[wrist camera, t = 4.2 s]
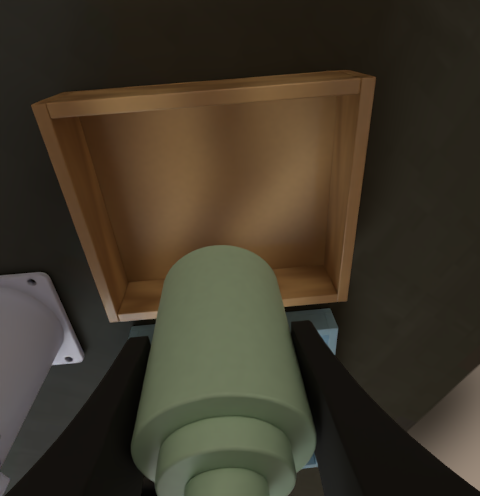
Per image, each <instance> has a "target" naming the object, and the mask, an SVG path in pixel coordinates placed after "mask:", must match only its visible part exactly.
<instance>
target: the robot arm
mask: <svg viewBox="0 0 480 496" xmlns="http://www.w3.org/2000/svg"><path fill="white" fill-rule="evenodd" d="M31 279H33V280H35V282H33V281H31ZM291 336H292V340H293V344H294V348H295V352H296V355H297V359H298V363H299V367H300V371H301V375H302V379H303V382H304V386H305V390H306V394H307V398H308V402H309V406H310V410H311V414H312V417H313V421H314V425H315V429H316V433H317V443H316V448H315V451H314V453H315V457H316V460H317V464H318V468H319V472H320V476H321V481H322V486H323V490H324V495H325V496H480V491H478V490H477V489H476V488H474V487H473V486H471V485H470V484H469V483H468V482H466V481H465V480H464V479H462V478H461V477H460V476H459V475H457V474H456V473H455V472H453V471H452V470H451V469H450V468H448V467H447V466H445V465H444V464H443V463H442V462H441V461H440V460H438V459H437V458H436V457H435V456H434V455H432V454H431V453H430V452H429V451H428V450H427V449H425V448H424V447H423V446H422V445H421V444H419V443H418V442H417V441H416V440H415V439H414V438H412V437H411V436H410V435H409V434H408V433H407V432H406V431H405V430H404V429H403V428H401V427H400V426H399V425H398V424H397V423H396V422H395V421H394V420H393V419H392V418H391V417H390V416H389V415H388V414H387V413H386V412H385V411H384V410H383V409H382V408H381V407H380V406H379V405H378V404H377V403H376V402H375V401H374V400H373V399H372V398H371V397H370V396H369V395H368V394H367V393H366V392H365V390H364V389H363V388H362V387H361V386H360V385H359V384H358V383H357V382H356V380H355V379H354V378H353V377H352V376H351V375H350V373H349V372H348V371H347V370H346V369H345V367H344V366H343V365H342V364H341V362H340V361H339V360H338V359H337V357H336V356H335V355H334V353H333V352H332V351H331V350H330V348H329V347H328V345H327V344H326V343H325V341H324V340H323V338H322V337H321V336H320V334H319V333H318V331H317V330H316V328H315V327H314V325H313V323H312V322H311V321H310V320H304V321H293V322H291ZM150 348H151V344H150V340H149V337H148V336H140V337H130V338H129V339H128V340H127V342H126V344H125V345H124V347H123V348H122V350H121V352H120V353H119V355H118V356H117V358H116V359H115V361H114V363H113V364H112V366H111V367H110V369H109V370H108V372H107V373H106V375H105V376H104V378H103V379H102V380H101V382H100V383H99V385H98V386H97V388H96V389H95V391H94V392H93V393H92V395H91V396H90V398H89V399H88V400H87V402H86V403H85V404H84V406H83V407H82V408H81V410H80V411H79V412H78V414H77V415H76V416H75V418H74V419H73V420H72V421H71V423H70V424H69V425H68V426H67V428H66V429H65V430H64V431H63V433H62V434H61V435H60V436H59V437H58V439H57V440H56V441H55V442H54V443H53V444H52V446H51V447H50V448H49V449H48V450H47V451H46V453H45V454H44V455H43V456H42V457H41V458H40V459H39V460H38V461H37V462H36V464H35V465H34V466H33V467H32V468H31V469H30V470H29V471H28V472H27V473H26V474H25V475H24V476H23V478H22V479H21V480H20V481H19V482H18V483H17V484H16V485H15V486H14V487H13V488H12V489H11V490H10V491H9V492H8V493H7V494H6V495H5V496H141V491H142V484H143V478H144V475H143V474H142V473H141V472H140V470H139V469H138V468H137V466H136V465H135V463H134V461H133V458H132V454H131V442H132V436H133V431H134V427H135V422H136V417H137V412H138V407H139V402H140V397H141V392H142V387H143V382H144V377H145V372H146V368H147V363H148V358H149V353H150ZM84 356H85V355H84V352H83V350H82V348H81V346H80V343H79V341H78V339H77V337H76V334H75V332H74V330H73V328H72V325H71V323H70V321H69V319H68V316H67V314H66V312H65V310H64V308H63V305H62V303H61V301H60V299H59V296H58V294H57V292H56V290H55V287H54V285H53V283H52V281H51V278H50V277H49V275H47V274H46V273H43V272H33V273H21V274H10V275H0V469H1V467H2V465H3V463H4V461H5V459H6V457H7V455H8V453H9V450H10V448H11V446H12V444H13V442H14V440H15V438H16V436H17V434H18V432H19V430H20V428H21V426H22V424H23V422H24V420H25V418H26V416H27V414H28V412H29V410H30V408H31V406H32V404H33V402H34V400H35V398H36V396H37V394H38V392H39V390H40V388H41V386H42V384H43V382H44V380H45V378H46V376H47V374H48V372H49V370H50V367H51V365H59V364H69V363H79V362H81V361H83V359H84ZM9 481H10V478H8V477H7V476H5V475H4V474H3V473H1V471H0V496H3V494H4V492H5V490H6V488H7V486H8V483H9Z"/></svg>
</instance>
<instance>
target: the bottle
mask: <svg viewBox="0 0 480 496" xmlns="http://www.w3.org/2000/svg"><path fill="white" fill-rule="evenodd" d="M316 443H317V433H316V429H315V425H314V421H313V417H312V414H311V410H310V406H309V402H308V398H307V394H306V390H305V386H304V382H303V379H302V375H301V371H300V367H299V363H298V359H297V355H296V352H295V348H294V344H293V340H292V336H291V332H290V328H289V324H288V320H287V317H286V313H285V309H284V305H283V301H282V297H281V293H280V289H279V285H278V282H277V278H276V276H275V273H274V271H273V270H272V268H271V267H270V266H269V265H268V263H267V262H266V261H265V260H263V259H262V258H261V257H260V256H258V255H256V254H255V253H253V252H251V251H249V250H247V249H243V248H240V247H236V246H229V245H214V246H207V247H203V248H200V249H197V250H195V251H192V252H190V253H188V254H187V255H185V256H183V257H182V258H181V259H179V260H178V261H177V262H176V263H175V264H174V265H173V266H172V268H171V269H170V270H169V272H168V274H167V275H166V278H165V280H164V284H163V289H162V294H161V299H160V304H159V308H158V313H157V318H156V323H155V328H154V333H153V338H152V343H151V348H150V353H149V358H148V363H147V368H146V372H145V377H144V382H143V387H142V392H141V397H140V402H139V407H138V412H137V417H136V422H135V427H134V431H133V436H132V442H131V454H132V458H133V461H134V463H135V465H136V466H137V468H138V469H139V470H140V472H141V473H142V474H143V475H145V476H146V477H147V478H148V479H150V480H151V481H153V482H155V490H156V494H157V496H288V495H289V494H290V493H291V491H292V490H293V488H294V486H295V483H296V477H297V476H296V473H297V472H298V471H299V470H301V469H302V468H303V467H304V466H305V465H306V464H307V463H308V461H309V460H310V459H311V457H312V455H313V453H314V451H315V448H316Z"/></svg>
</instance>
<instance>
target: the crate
mask: <svg viewBox="0 0 480 496" xmlns="http://www.w3.org/2000/svg"><path fill="white" fill-rule="evenodd" d="M375 82H376V77H374V76H370V75H367V74H363V73H359V72H355V71H351V70H336V71H323V72H310V73H298V74H285V75H273V76H260V77H247V78H235V79H222V80H210V81H197V82H184V83H172V84H159V85H146V86H134V87H121V88H109V89H96V90H83V91H71V92H62V93H60V94H57V95H55V96H52V97H49V98H47V99H44V100H41V101H39V102H36V103H33V104H31V107H32V110H33V113H34V115H35V118H36V121H37V124H38V126H39V129H40V132H41V135H42V137H43V140H44V143H45V146H46V148H47V151H48V154H49V157H50V159H51V162H52V165H53V168H54V170H55V173H56V176H57V179H58V181H59V184H60V187H61V190H62V192H63V195H64V198H65V201H66V203H67V206H68V209H69V212H70V214H71V217H72V220H73V223H74V226H75V228H76V231H77V234H78V237H79V239H80V242H81V245H82V248H83V250H84V253H85V256H86V259H87V261H88V264H89V267H90V270H91V272H92V275H93V278H94V281H95V283H96V286H97V289H98V292H99V294H100V297H101V300H102V303H103V305H104V308H105V311H106V314H107V316H108V319H109V322H119V321H120V322H124V321H135V320H146V319H156V318H157V313H158V308H159V304H160V299H161V294H162V289H163V284H164V280H165V278H166V275H167V274H168V272H169V270H170V269H171V268H172V266H173V265H174V264H175V263H176V262H177V261H178V260H179V259H181V258H182V257H183V256H185V255H187V254H188V253H190V252H192V251H195V250H197V249H200V248H203V247H207V246H214V245H229V246H236V247H240V248H243V249H247V250H249V251H251V252H253V253H255V254H256V255H258V256H260V257H261V258H262V259H263V260H265V261H266V262H267V263H268V265H269V266H270V267H271V268H272V270H273V271H274V273H275V276H276V278H277V282H278V285H279V289H280V293H281V297H282V301H283V305H284V307H288V306H299V305H310V304H321V303H331V302H342V301H347V297H348V289H349V281H350V273H351V266H352V258H353V250H354V243H355V235H356V227H357V220H358V212H359V204H360V197H361V189H362V181H363V174H364V166H365V158H366V151H367V143H368V135H369V128H370V120H371V112H372V105H373V97H374V89H375Z"/></svg>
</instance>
